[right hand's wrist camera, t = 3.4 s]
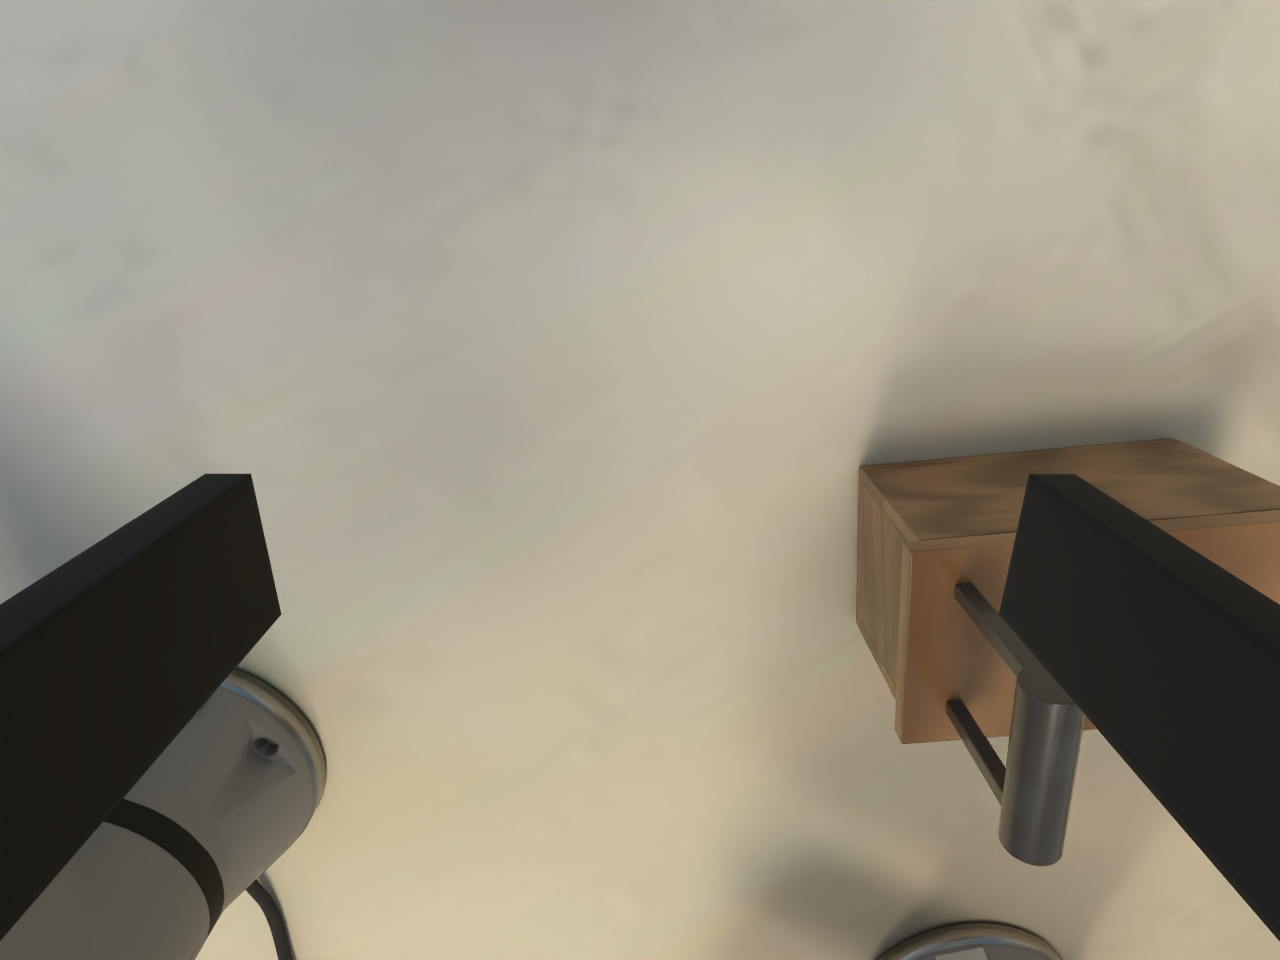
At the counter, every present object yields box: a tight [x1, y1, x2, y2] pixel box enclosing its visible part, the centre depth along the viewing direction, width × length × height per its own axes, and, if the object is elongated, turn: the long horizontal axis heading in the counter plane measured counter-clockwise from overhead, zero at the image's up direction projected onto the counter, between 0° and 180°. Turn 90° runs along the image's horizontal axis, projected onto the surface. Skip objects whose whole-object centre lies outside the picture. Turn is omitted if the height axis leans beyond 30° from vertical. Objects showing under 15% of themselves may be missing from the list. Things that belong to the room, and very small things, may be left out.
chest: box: [857, 438, 1280, 699], centre depth 35 cm, size 16×10×9 cm, turn 96°
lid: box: [895, 510, 1280, 866], centre depth 27 cm, size 17×10×9 cm, turn 96°
